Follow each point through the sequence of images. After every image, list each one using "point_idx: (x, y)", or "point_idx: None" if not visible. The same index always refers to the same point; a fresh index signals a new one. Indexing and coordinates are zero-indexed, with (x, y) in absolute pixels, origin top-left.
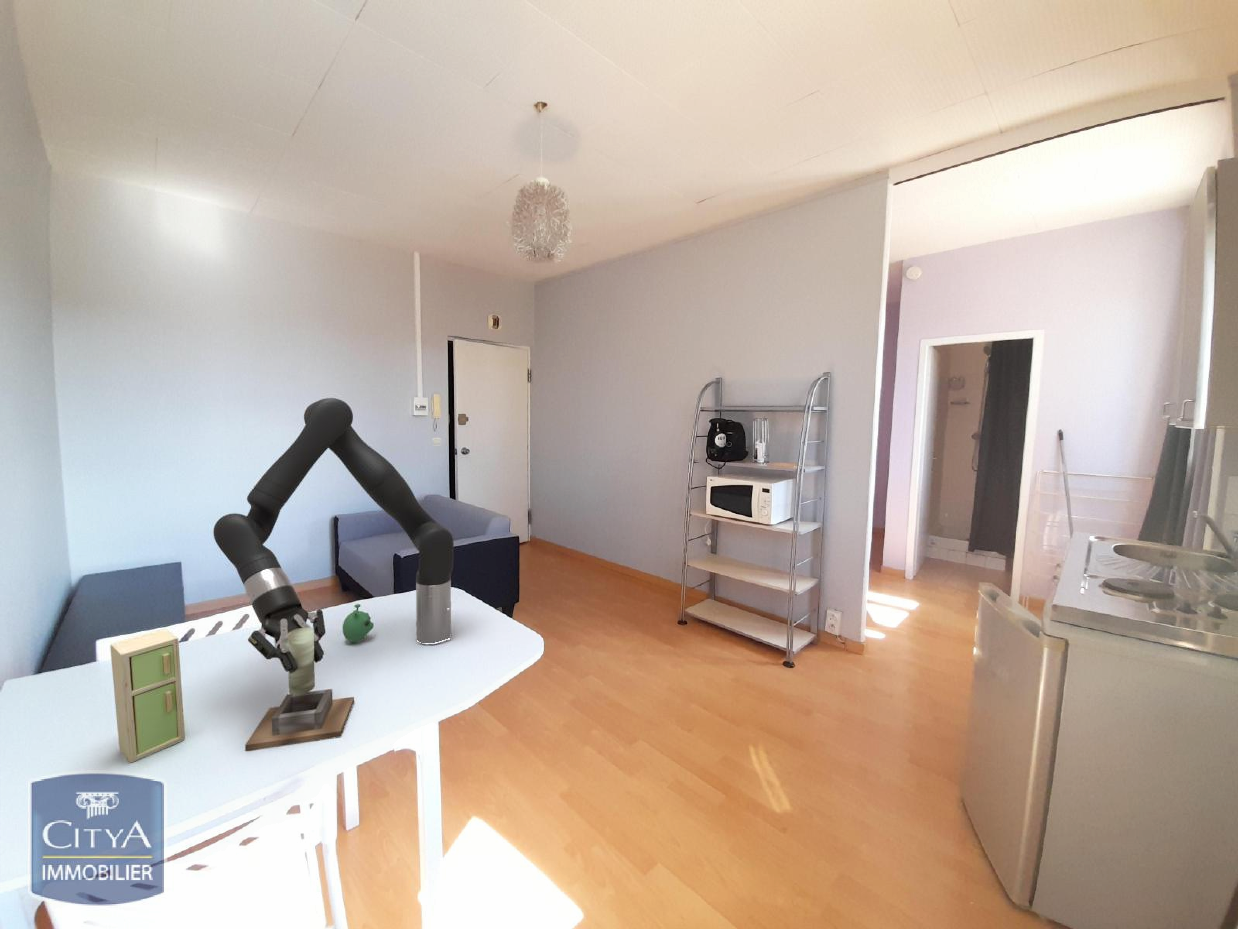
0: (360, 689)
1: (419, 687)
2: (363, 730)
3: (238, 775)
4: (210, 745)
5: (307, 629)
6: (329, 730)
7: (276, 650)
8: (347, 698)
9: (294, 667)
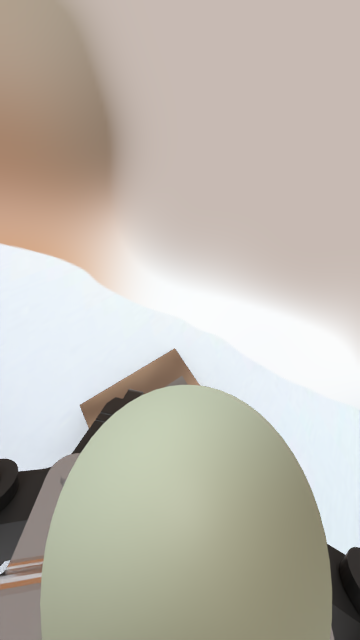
0: (34, 432)
1: (27, 326)
2: (152, 332)
3: (291, 425)
4: None
5: (100, 525)
6: (179, 365)
7: (352, 569)
8: (87, 413)
9: None
